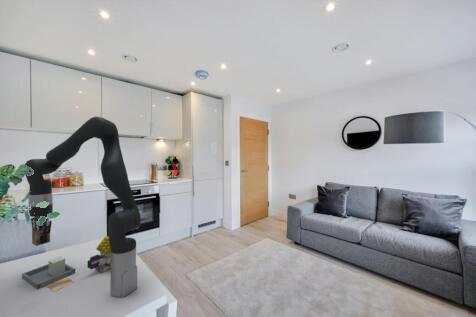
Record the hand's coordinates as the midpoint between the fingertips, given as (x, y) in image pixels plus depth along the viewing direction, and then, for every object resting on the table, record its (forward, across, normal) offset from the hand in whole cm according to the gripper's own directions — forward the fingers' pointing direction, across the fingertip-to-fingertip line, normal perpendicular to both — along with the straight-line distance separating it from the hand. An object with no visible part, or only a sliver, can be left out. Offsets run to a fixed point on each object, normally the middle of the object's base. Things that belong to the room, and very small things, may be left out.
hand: (41, 242), depth 88 cm
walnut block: (0, 0, 0) cm, 0 cm away
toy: (+17, -16, -17) cm, 29 cm away
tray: (+17, 0, -3) cm, 17 cm away
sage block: (+17, 0, -6) cm, 18 cm away
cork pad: (+17, -12, -2) cm, 21 cm away
